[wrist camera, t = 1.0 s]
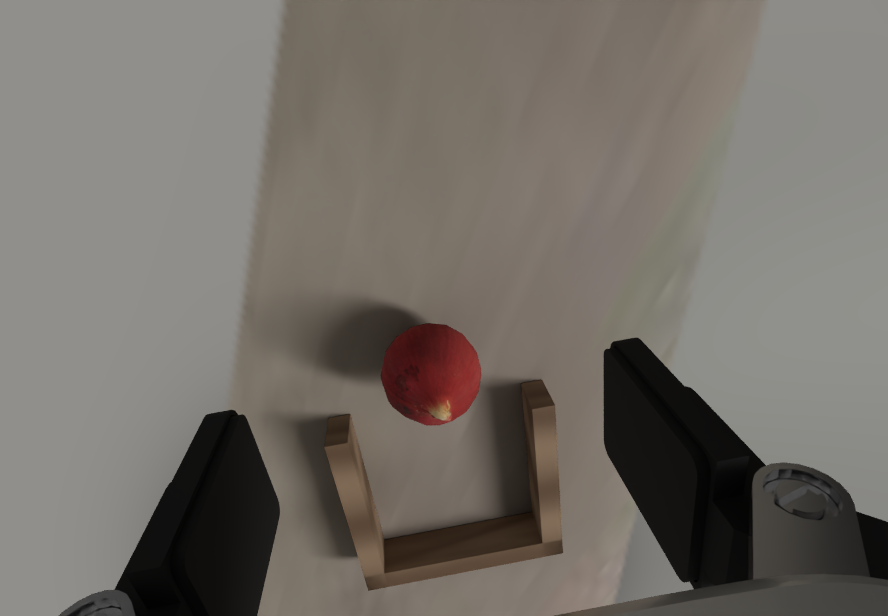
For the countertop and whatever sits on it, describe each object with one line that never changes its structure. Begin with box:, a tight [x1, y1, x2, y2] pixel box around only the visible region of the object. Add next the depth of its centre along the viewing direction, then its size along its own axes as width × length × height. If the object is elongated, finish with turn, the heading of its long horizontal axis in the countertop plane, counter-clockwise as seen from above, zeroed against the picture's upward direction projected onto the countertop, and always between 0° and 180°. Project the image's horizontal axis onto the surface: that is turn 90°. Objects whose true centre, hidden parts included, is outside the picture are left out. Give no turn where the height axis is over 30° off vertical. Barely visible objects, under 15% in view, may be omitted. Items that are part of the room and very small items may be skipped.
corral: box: [324, 380, 563, 591], centre depth 37 cm, size 14×15×3 cm
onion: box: [381, 323, 481, 425], centre depth 30 cm, size 6×6×8 cm
